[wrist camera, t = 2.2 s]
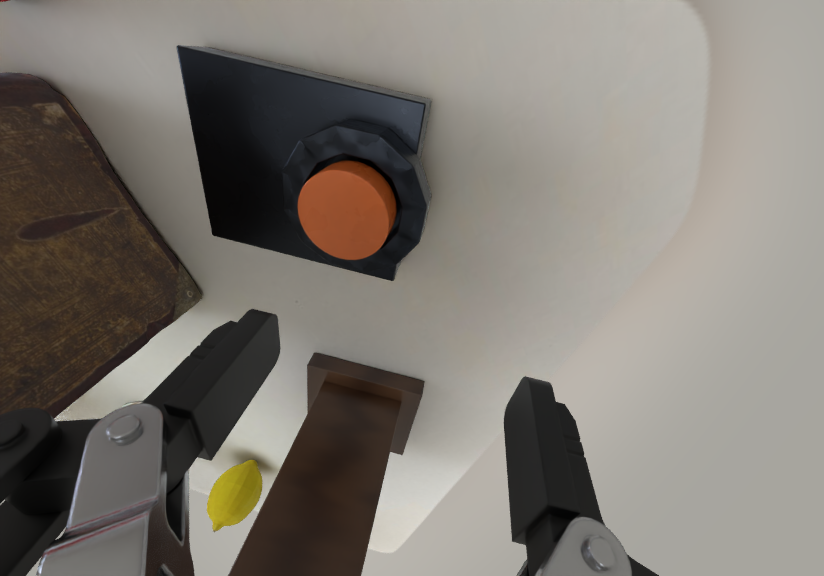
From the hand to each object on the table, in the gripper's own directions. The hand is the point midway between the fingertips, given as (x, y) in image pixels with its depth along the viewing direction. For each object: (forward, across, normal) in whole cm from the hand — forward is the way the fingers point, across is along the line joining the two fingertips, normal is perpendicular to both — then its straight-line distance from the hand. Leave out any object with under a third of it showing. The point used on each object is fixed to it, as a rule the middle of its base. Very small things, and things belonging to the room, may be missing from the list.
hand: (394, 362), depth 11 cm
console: (+12, +8, -1) cm, 14 cm away
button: (+8, +4, -1) cm, 9 cm away
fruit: (+12, +16, +38) cm, 43 cm away
